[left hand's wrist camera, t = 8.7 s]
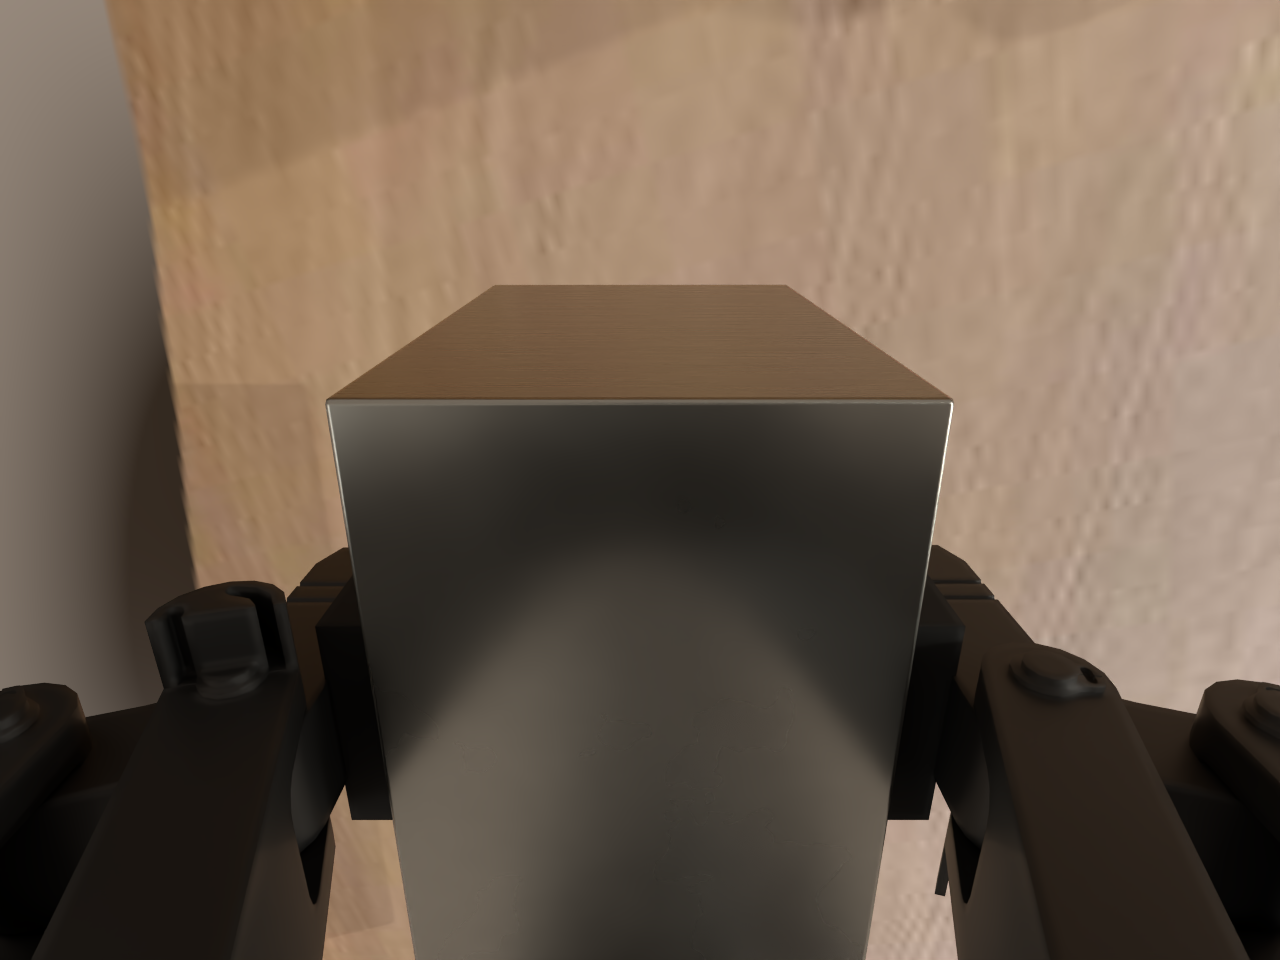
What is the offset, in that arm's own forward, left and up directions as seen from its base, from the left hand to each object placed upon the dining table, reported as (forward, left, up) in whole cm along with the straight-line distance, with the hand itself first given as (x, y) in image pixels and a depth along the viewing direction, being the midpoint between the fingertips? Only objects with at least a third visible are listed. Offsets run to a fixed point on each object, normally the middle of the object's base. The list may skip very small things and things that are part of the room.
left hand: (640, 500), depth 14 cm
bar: (+8, +2, -1) cm, 9 cm away
